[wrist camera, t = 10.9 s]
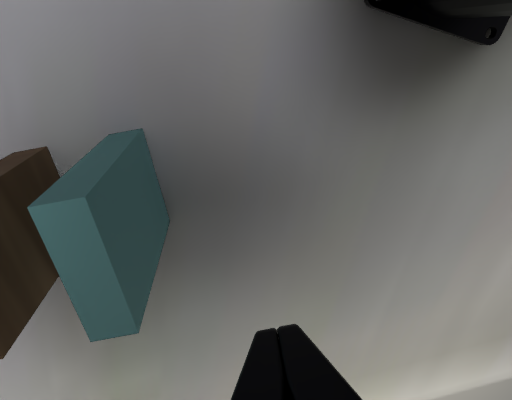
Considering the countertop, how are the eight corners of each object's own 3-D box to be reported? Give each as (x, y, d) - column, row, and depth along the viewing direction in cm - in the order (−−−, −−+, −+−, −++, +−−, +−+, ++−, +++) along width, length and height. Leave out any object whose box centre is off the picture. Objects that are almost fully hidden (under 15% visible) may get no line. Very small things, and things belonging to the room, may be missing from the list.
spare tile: (139, 226, 19) (90, 342, 12) (108, 134, 17) (27, 207, 10) (170, 221, 19) (138, 333, 12) (142, 128, 17) (85, 196, 10)
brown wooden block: (47, 146, 17) (-80, 227, 10) (85, 237, 19) (3, 358, 12) (13, 152, 17) (-137, 238, 10) (55, 243, 19) (-45, 367, 12)
